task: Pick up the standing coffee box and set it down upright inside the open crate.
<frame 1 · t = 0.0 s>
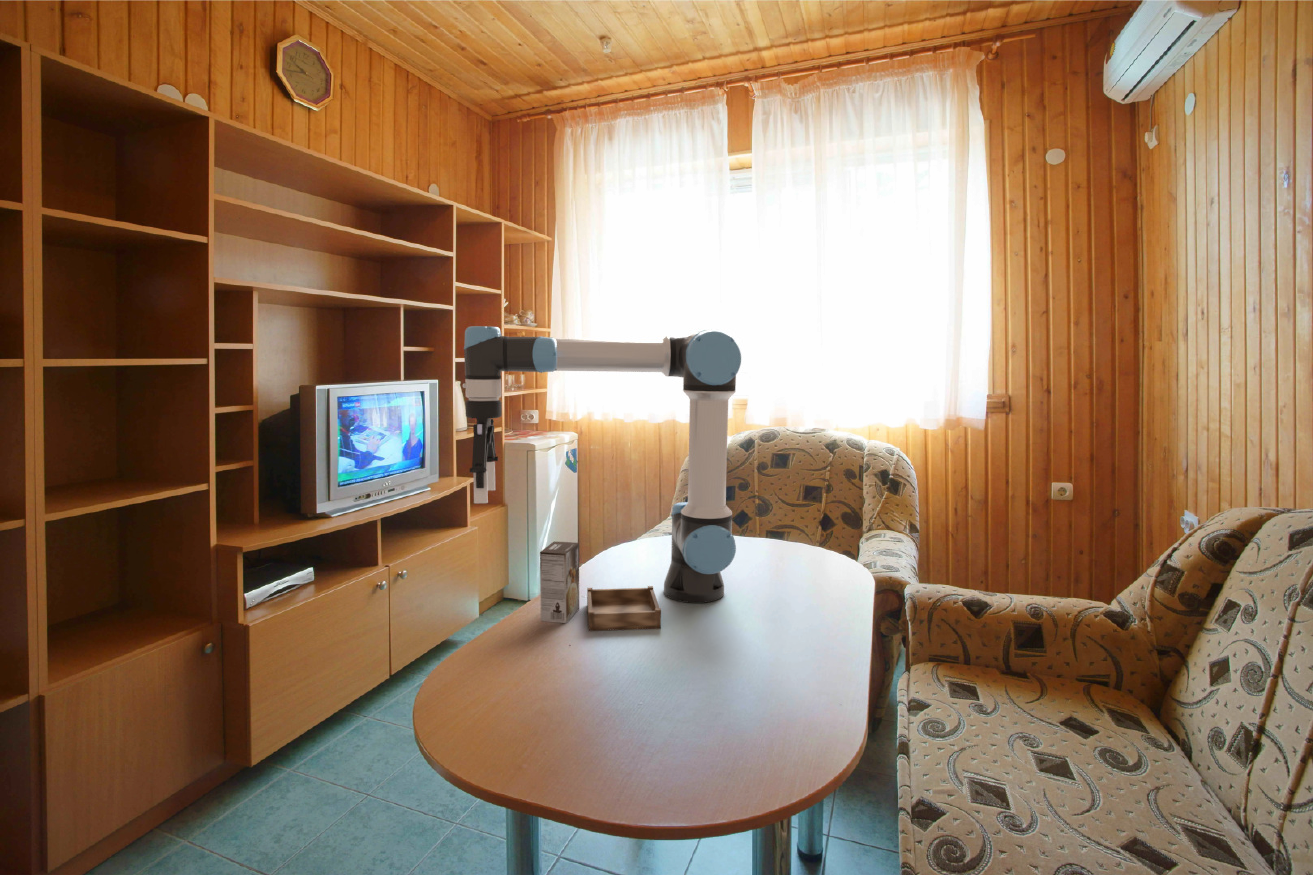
hand: (485, 496, 148), 28 cm above the table, fingers open, 13 cm apart
coffee box: (560, 615, 155), on the table
crate: (622, 616, 155), on the table
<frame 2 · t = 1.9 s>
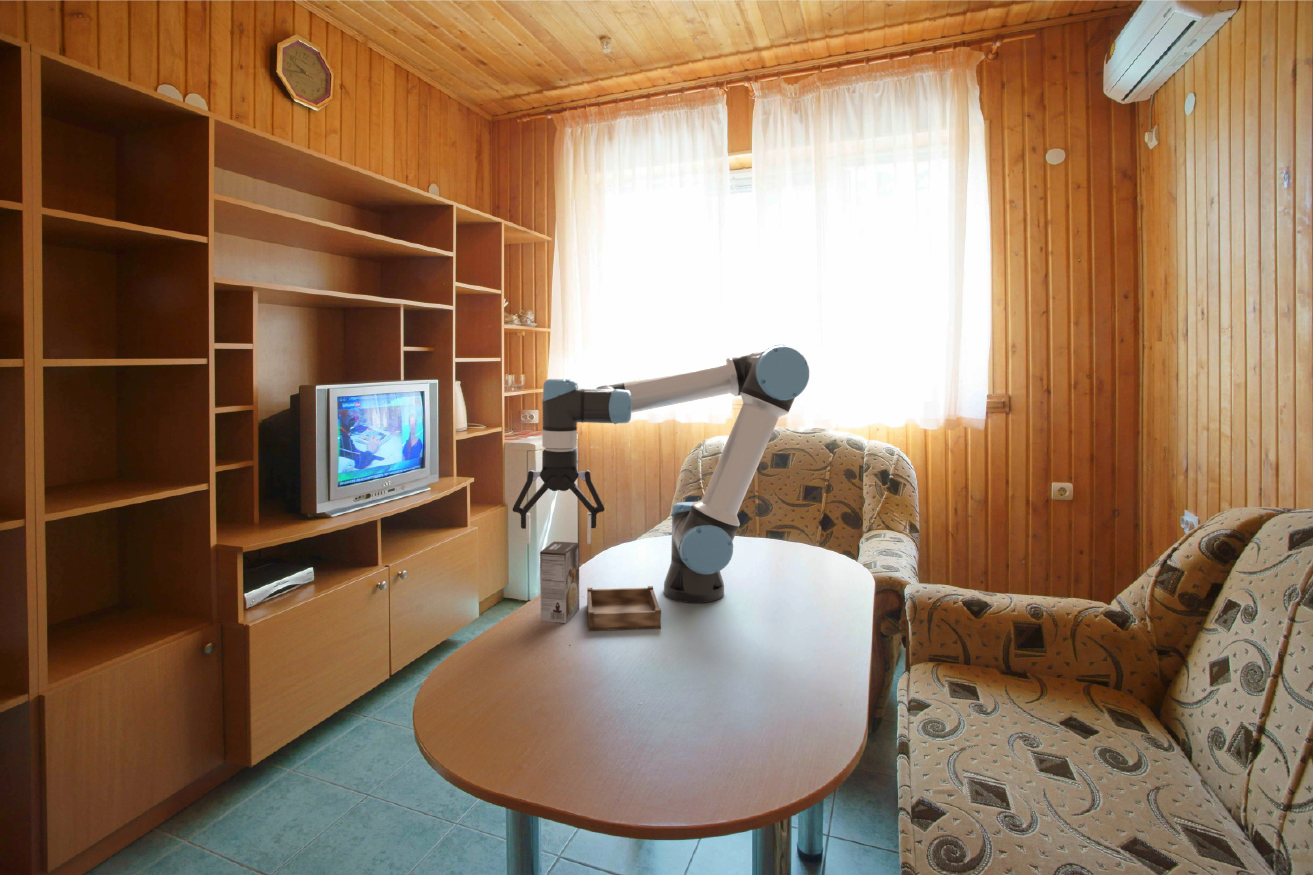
hand: (558, 542, 153), 17 cm above the table, fingers open, 13 cm apart
nothing on the table moved.
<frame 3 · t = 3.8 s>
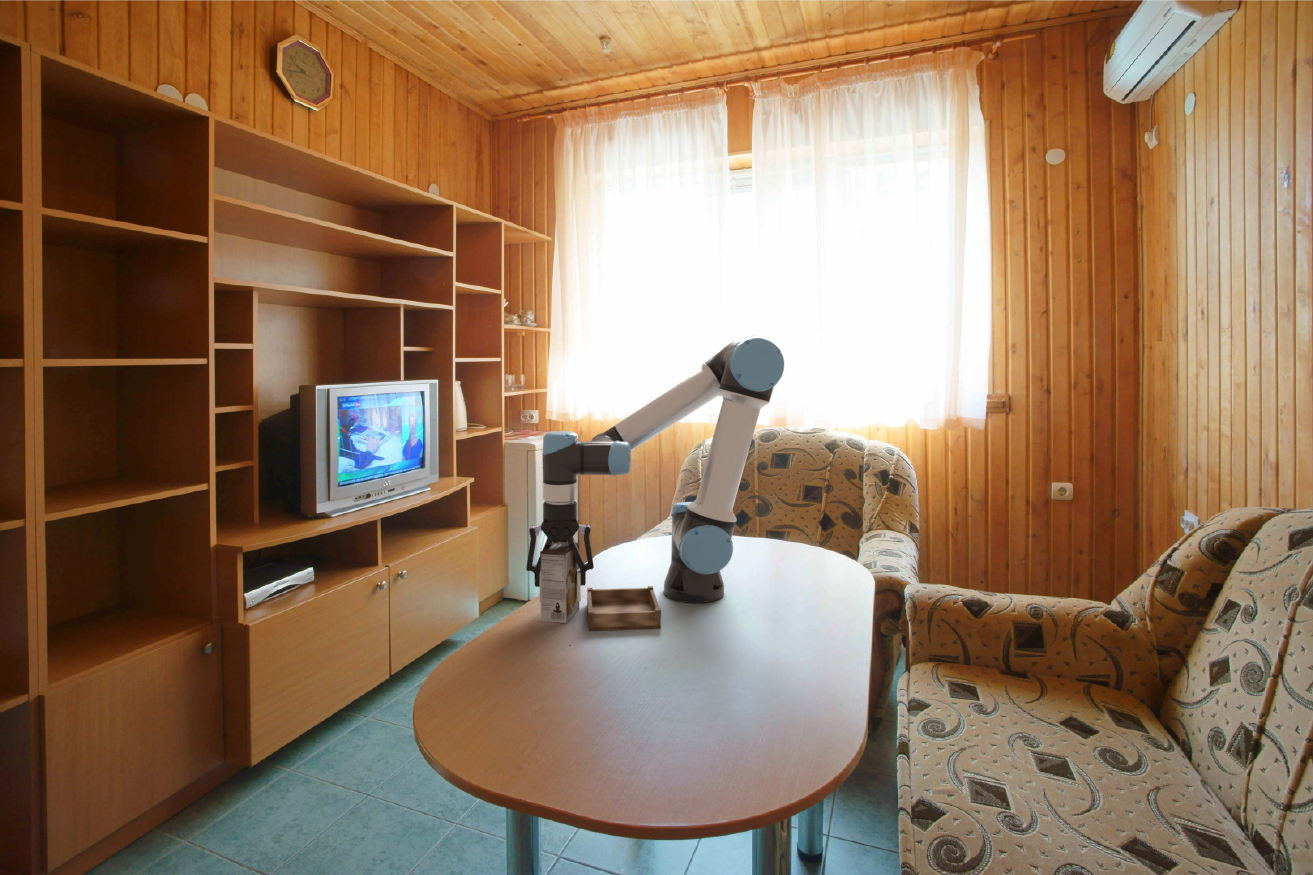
hand: (560, 599, 154), 4 cm above the table, fingers closed on coffee box, 8 cm apart
coffee box: (560, 615, 155), on the table, touching gripper
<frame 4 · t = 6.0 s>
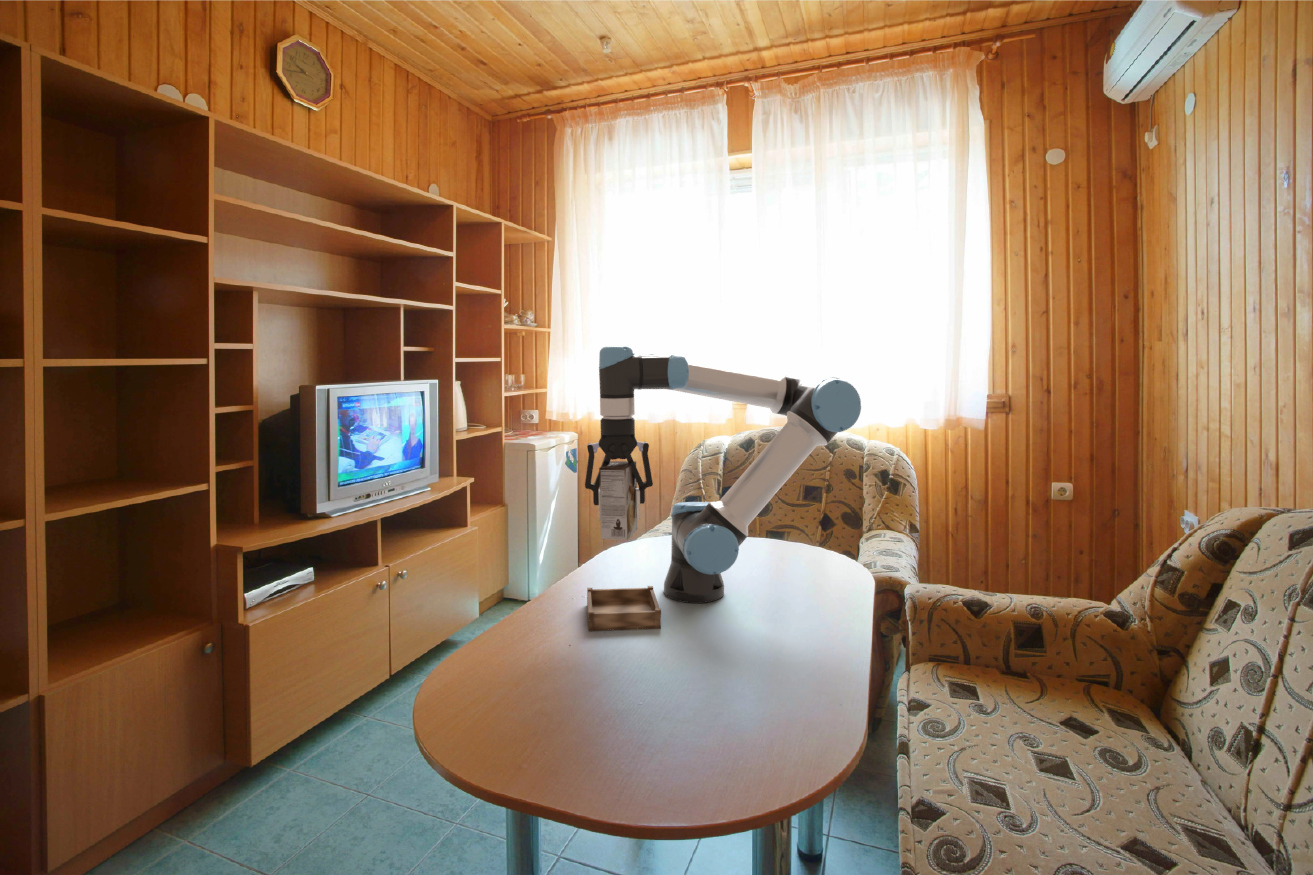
hand: (619, 518, 152), 23 cm above the table, fingers closed on coffee box, 8 cm apart
coffee box: (619, 535, 152), point 19 cm above the table, touching gripper
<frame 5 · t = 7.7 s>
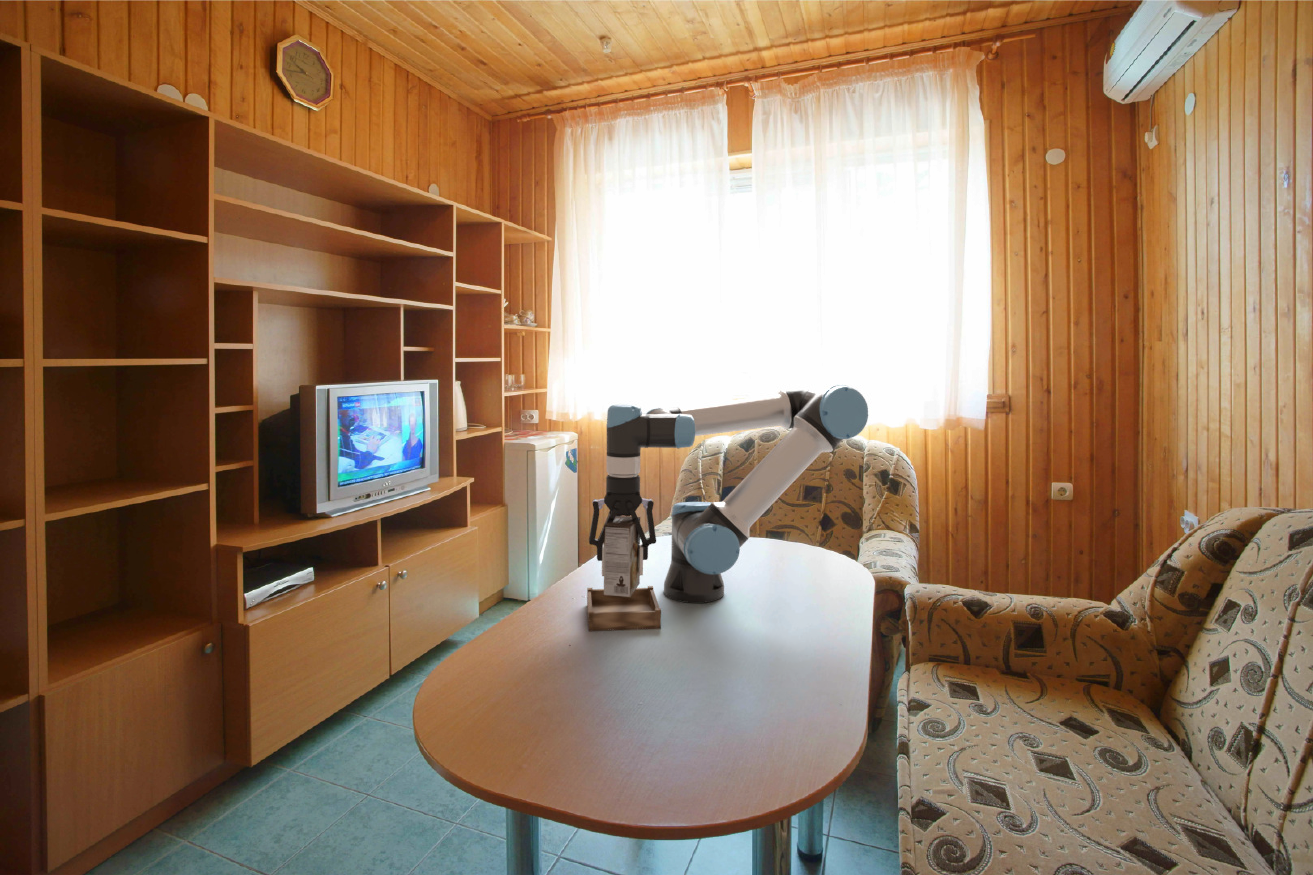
hand: (622, 573, 153), 10 cm above the table, fingers closed on coffee box, 8 cm apart
coffee box: (621, 590, 154), point 6 cm above the table, touching gripper
when the fingers open (6 cm above the table, at t = 8.7 s): coffee box drops 2 cm, resting on crate.
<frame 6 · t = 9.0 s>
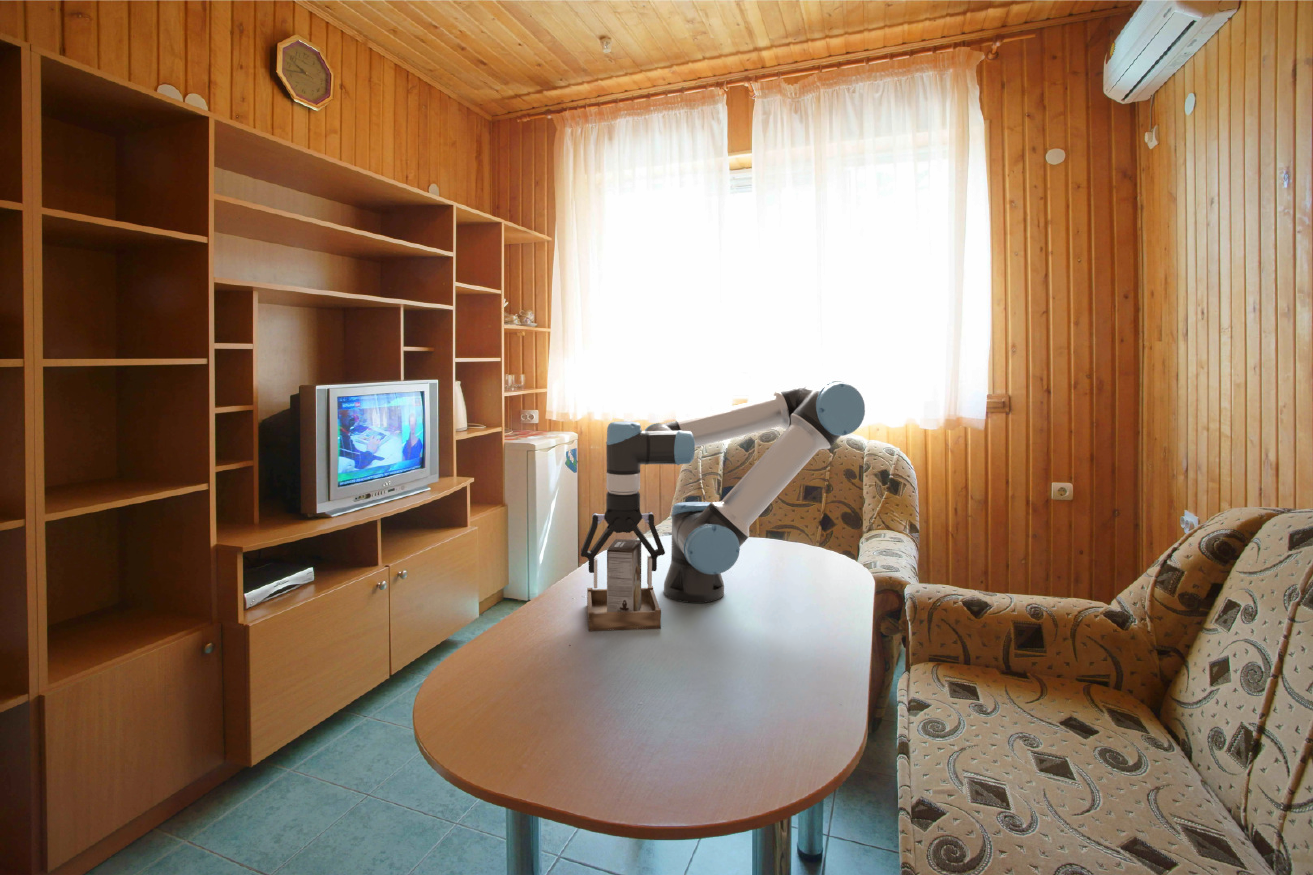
hand: (622, 585, 154), 7 cm above the table, fingers open, 11 cm apart
coffee box: (624, 613, 155), point 1 cm above the table, touching crate
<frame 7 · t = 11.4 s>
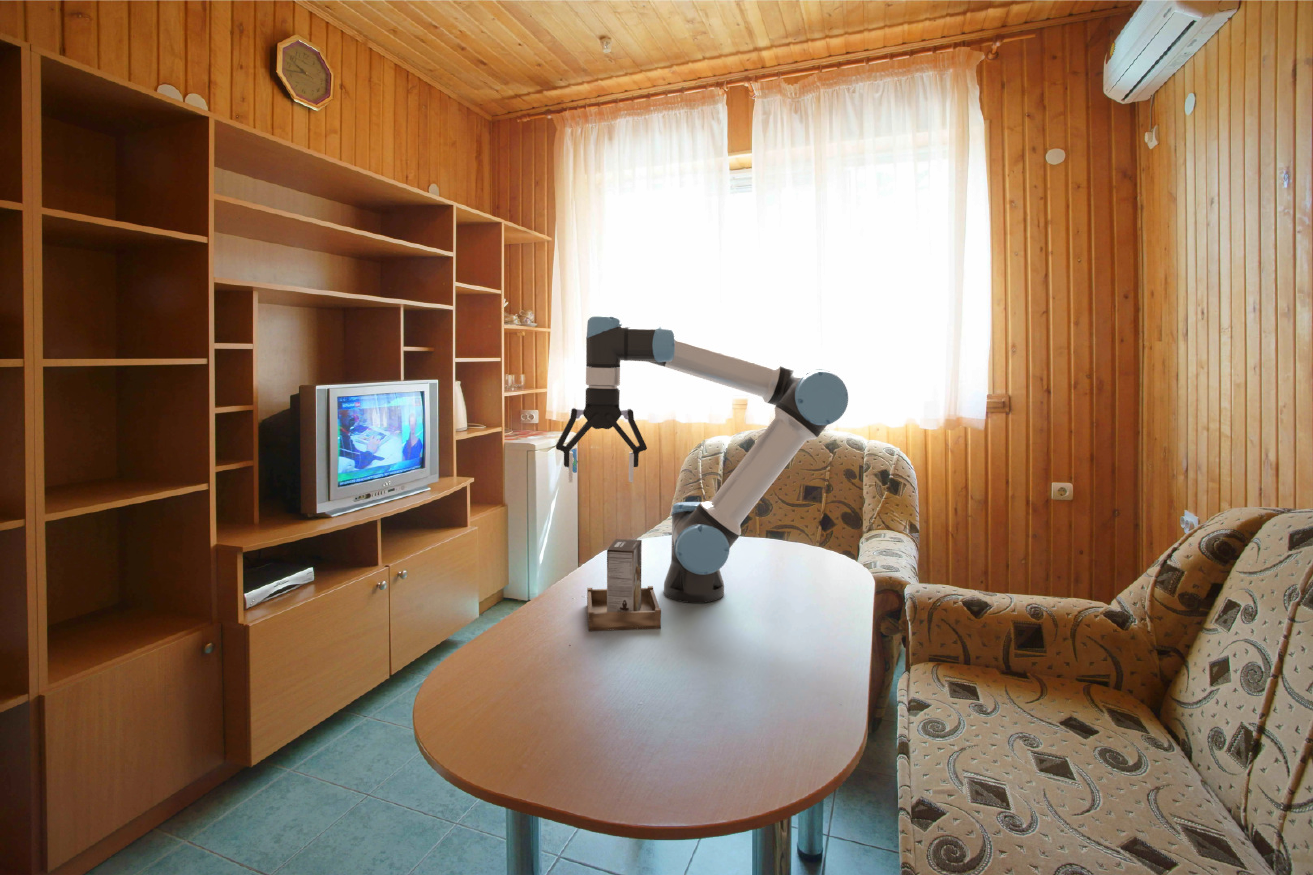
hand: (600, 481, 153), 31 cm above the table, fingers open, 13 cm apart
nothing on the table moved.
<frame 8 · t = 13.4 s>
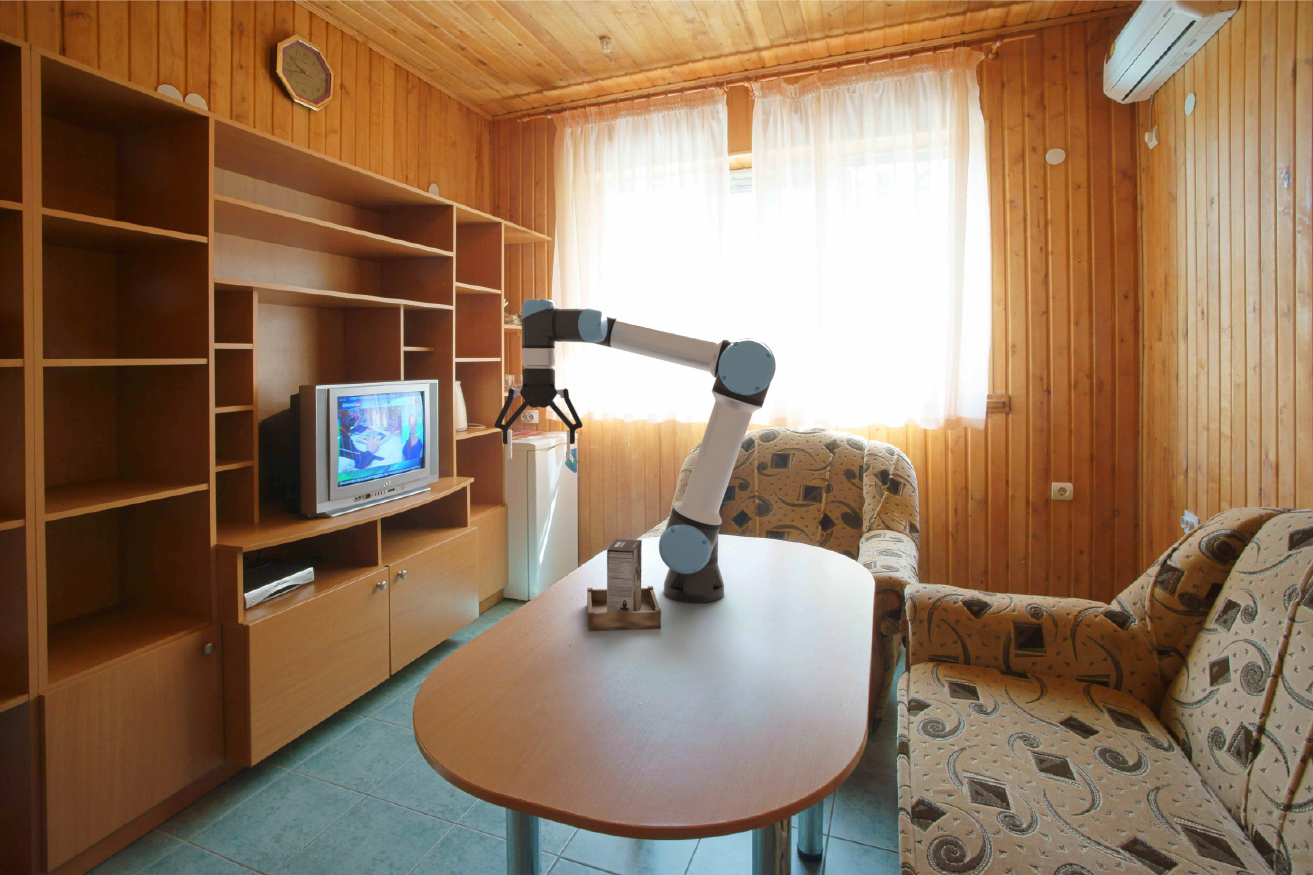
hand: (539, 458, 160), 35 cm above the table, fingers open, 13 cm apart
nothing on the table moved.
at the end: coffee box inside the target area on the crate (0.5 cm from its centre), point 0.6 cm above the crate's base; coffee box tilted 0°; the gripper is holding nothing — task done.
